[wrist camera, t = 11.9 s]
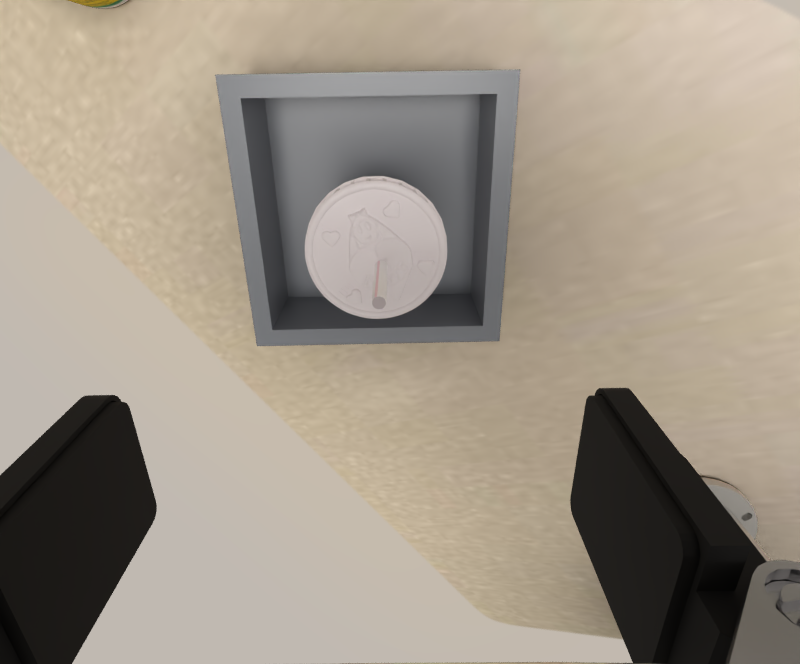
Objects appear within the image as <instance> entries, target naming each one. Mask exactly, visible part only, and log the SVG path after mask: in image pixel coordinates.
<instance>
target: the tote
mask: <svg viewBox="0 0 800 664" xmlns="http://www.w3.org/2000/svg"><path fill="white" fill-rule="evenodd" d="M215 76H216V83H217V89H218V96H219V102H220V109H221V115H222V122H223V128H224V135H225V141H226V148H227V154H228V161H229V167H230V174H231V180H232V187H233V193H234V200H235V206H236V213H237V219H238V226H239V232H240V239H241V245H242V252H243V258H244V265H245V271H246V278H247V284H248V291H249V297H250V304H251V310H252V317H253V323H254V330H255V336H256V343H257V346H287V345H335V344H384V343H433V342H482V341H499V340H500V327H501V313H502V300H503V287H504V274H505V261H506V248H507V235H508V222H509V209H510V196H511V183H512V170H513V157H514V144H515V131H516V118H517V105H518V92H519V79H520V70H462V71H404V72H345V73H287V74H228V75H215ZM363 176H387V177H390V178H394V179H398V180H402V181H404V182H405V183H407V184H409V185H411V186H413V187H415V188H416V189H418V190H419V191H420V192H421V193H423V194H424V195H425V196H426V197H427V198H428V199H429V200H430V201H431V202H432V203H433V205H434V207H435V208H436V210H437V212H438V213H439V215H440V217H441V219H442V221H443V225H444V229H445V233H446V236H447V261H446V266H445V270H444V273H443V276H442V278H441V280H440V282H439V284H438V286H437V287H436V289H435V290H434V291H433V293H432V294H431V295H430V296H429V297H428V298H427V299H426V300H425V301H424V302H423V303H422V304H420V305H419V306H418V307H416V308H414V309H413V310H411V311H409V312H407V313H404V314H402V315H399V316H395V317H391V318H383V319H371V318H364V317H359V316H355V315H352V314H350V313H347V312H345V311H343V310H341V309H340V308H338V307H336V306H335V305H334V304H332V303H331V302H330V301H329V300H327V299H326V298H325V297H324V296H323V294H322V293H321V292H320V291H319V290H318V288H317V287H316V285H315V284H314V282H313V280H312V278H311V276H310V274H309V271H308V268H307V264H306V259H305V238H306V233H307V229H308V224H309V222H310V220H311V217H312V215H313V213H314V211H315V209H316V207H317V206H318V205H319V203H320V202H321V201H322V200H323V199H324V198H325V196H326V195H327V194H328V193H329V192H331V191H332V190H334V189H335V188H337V187H338V186H340V185H341V184H343V183H344V182H347V181H350V180H354V179H357V178H360V177H363Z"/></svg>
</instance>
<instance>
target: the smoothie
mask: <svg viewBox="0 0 800 664" xmlns="http://www.w3.org/2000/svg"><path fill="white" fill-rule="evenodd" d="M305 259H306V264H307V268H308V271H309V274H310V276H311V278H312V280H313V282H314V284H315V285H316V287H317V288H318V290H319V291H320V292H321V293H322V294H323V296H324V297H325V298H326V299H327V300H329V301H330V302H331V303H332V304H334V305H335V306H336V307H338V308H340V309H341V310H343V311H345V312H347V313H350V314H352V315H355V316H359V317H364V318H371V319H383V318H391V317H395V316H399V315H402V314H404V313H407V312H409V311H411V310H413V309H414V308H416V307H418V306H419V305H420V304H422V303H423V302H424V301H425V300H426V299H427V298H428V297H429V296H430V295H431V294H432V293H433V291H434V290H435V289H436V287H437V286H438V284H439V282H440V280H441V278H442V276H443V273H444V270H445V266H446V261H447V236H446V233H445V229H444V225H443V221H442V219H441V217H440V215H439V213H438V212H437V210H436V208H435V207H434V205H433V203H432V202H431V201H430V200H429V199H428V198H427V197H426V196H425V195H424V194H423V193H421V192H420V191H419V190H418V189H416V188H415V187H413V186H411V185H409V184H407V183H405V182H404V181H402V180H398V179H394V178H390V177H387V176H363V177H360V178H357V179H354V180H350V181H347V182H344V183H343V184H341V185H340V186H338V187H337V188H335V189H334V190H332V191H331V192H329V193H328V194H327V195H326V196H325V198H324V199H323V200H322V201H321V202H320V203H319V205H318V206H317V207H316V209H315V211H314V213H313V215H312V217H311V220H310V222H309V224H308V229H307V233H306V238H305Z"/></svg>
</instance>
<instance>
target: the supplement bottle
mask: <svg viewBox="0 0 800 664" xmlns="http://www.w3.org/2000/svg"><path fill="white" fill-rule="evenodd" d="M68 1H72V2H75V3H78V4H82V5H85V6H89V7H94V8H112V7H116V6H119V5H122V4H123V3H125V2H126V1H128V0H68Z"/></svg>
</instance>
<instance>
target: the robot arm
mask: <svg viewBox="0 0 800 664" xmlns="http://www.w3.org/2000/svg"><path fill="white" fill-rule="evenodd" d="M570 501H571V511H572V515H573V518H574V520H575V523H576V525H577V527H578V530H579V532H580V535H581V537H582V540H583V542H584V545H585V547H586V549H587V552H588V554H589V557H590V559H591V562H592V564H593V566H594V569H595V571H596V574H597V576H598V579H599V581H600V584H601V586H602V588H603V591H604V593H605V596H606V598H607V601H608V603H609V605H610V608H611V610H612V613H613V615H614V618H615V620H616V623H617V625H618V627H619V630H620V632H621V635H622V637H623V640H624V642H625V644H626V647H627V649H628V652H629V654H630V657H631V659H632V661H633V663H580V662H579V663H578V662H573V663H572V662H503V663H502V662H501V663H500V662H498V663H497V662H496V663H495V662H494V663H493V662H490V663H348V664H800V563H799V562H793V561H786V560H775V561H771V560H770V559H769V557H768V556H767V555H766V554H765V552H764V551H763V550H762V549H761V547H760V546H759V545H758V544H757V542H756V541H755V538H756V534H757V530H758V519H757V515H756V512H755V509H754V508H753V506H752V505H751V503H750V502H749V501H748V500H747V499H746V497H745V496H744V495H743V494H742V493H741V492H740V491H739V490H737V489H736V488H734V487H733V486H731V485H730V484H727V483H725V482H722V481H719V480H715V479H710V478H701V477H700V476H699V474H698V473H697V472H696V471H695V469H694V468H693V467H692V465H691V464H690V463H689V462H688V460H687V459H686V458H685V457H684V456H683V455H682V454H680V453H679V451H678V450H677V449H676V447H675V446H674V445H673V444H672V442H671V441H670V440H669V439H668V437H667V436H666V435H665V433H664V432H663V431H662V430H661V428H660V427H659V426H658V424H657V423H656V422H655V421H654V419H653V418H652V417H651V415H650V414H649V413H648V412H647V410H646V409H645V408H644V406H643V405H642V404H641V403H640V401H639V400H638V399H637V397H636V396H635V395H634V394H633V392H632V391H631V390H630V389H628V388H599V389H598V390H597V391H596V393H595V396H588V398H587V400H586V405H585V411H584V417H583V424H582V430H581V436H580V442H579V448H578V455H577V461H576V467H575V473H574V480H573V486H572V492H571V500H570ZM155 515H156V500H155V497H154V493H153V490H152V487H151V482H150V479H149V475H148V472H147V468H146V465H145V461H144V458H143V454H142V450H141V447H140V443H139V440H138V436H137V433H136V429H135V426H134V422H133V418H132V415H131V411H130V408H129V406H128V405H127V403H125V402H121V400H120V399H119V398H118V397H117V396H115V395H99V396H98V395H93V396H84V397H82V398H81V399H80V400H78V402H76V403H75V404H74V405H73V406H72V407H71V408H70V409H69V410H68V411H67V412H66V413H65V414H64V415H63V416H62V417H61V418H60V419H59V420H58V421H57V422H56V423H54V424H53V425H52V426H51V427H50V428H49V429H48V430H47V431H46V432H45V433H44V434H43V435H42V436H41V437H40V438H39V439H38V440H37V441H36V442H35V443H34V444H33V445H32V446H30V447H29V448H28V449H27V450H26V451H25V452H24V453H23V454H22V455H21V456H20V457H19V458H18V459H17V460H16V461H15V462H14V463H13V464H12V465H11V466H10V467H9V468H8V469H6V470H5V471H4V472H3V473H2V474H1V475H0V664H72V662H73V661H74V659H75V657H76V656H77V654H78V652H79V650H80V649H81V647H82V645H83V643H84V642H85V640H86V638H87V636H88V635H89V633H90V631H91V629H92V628H93V626H94V624H95V622H96V621H97V619H98V617H99V615H100V614H101V612H102V610H103V608H104V607H105V605H106V603H107V601H108V600H109V598H110V596H111V595H112V593H113V591H114V589H115V588H116V586H117V584H118V582H119V581H120V579H121V577H122V575H123V574H124V572H125V570H126V568H127V567H128V565H129V563H130V562H131V560H132V558H133V556H134V555H135V553H136V551H137V549H138V548H139V546H140V544H141V542H142V541H143V539H144V537H145V535H146V534H147V532H148V530H149V528H150V527H151V525H152V523H153V521H154V519H155ZM342 664H344V663H342ZM345 664H347V663H345Z"/></svg>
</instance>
